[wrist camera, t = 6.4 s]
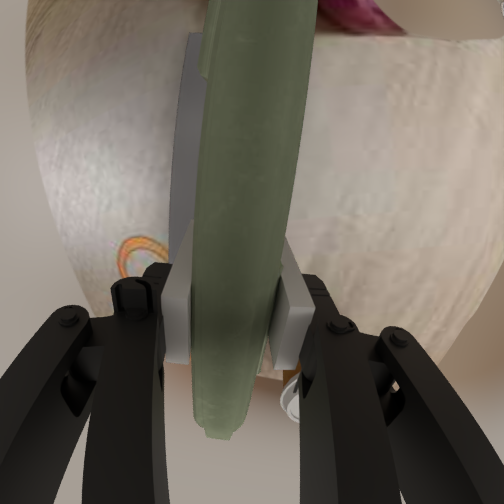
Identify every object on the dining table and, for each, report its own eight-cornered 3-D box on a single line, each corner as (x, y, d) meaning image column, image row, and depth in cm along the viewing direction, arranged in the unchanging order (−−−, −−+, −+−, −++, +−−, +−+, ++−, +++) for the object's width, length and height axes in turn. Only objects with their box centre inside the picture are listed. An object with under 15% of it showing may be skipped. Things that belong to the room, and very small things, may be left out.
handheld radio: (299, 13, 10) (240, 393, 20) (230, 4, 9) (198, 389, 20) (340, -57, 3) (240, 468, 14) (221, -74, 3) (189, 464, 14)
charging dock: (206, -27, 17) (205, -34, 15) (304, -15, 18) (308, -22, 16) (172, 307, 33) (169, 316, 31) (254, 315, 34) (255, 323, 32)
